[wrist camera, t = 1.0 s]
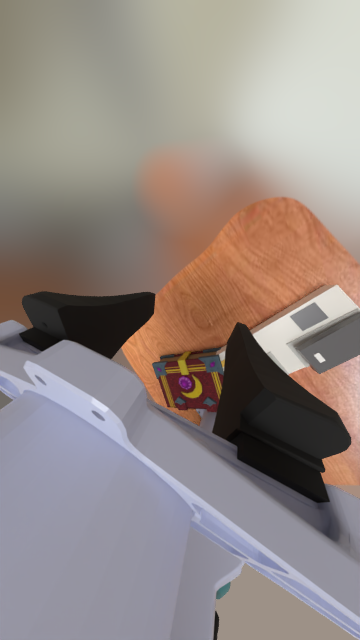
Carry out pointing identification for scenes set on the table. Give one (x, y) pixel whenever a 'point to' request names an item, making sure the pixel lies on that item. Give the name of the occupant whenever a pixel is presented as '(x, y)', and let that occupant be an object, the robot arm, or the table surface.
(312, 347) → the rocker outer
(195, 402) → the decorative book
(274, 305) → the table surface
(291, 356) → the base
